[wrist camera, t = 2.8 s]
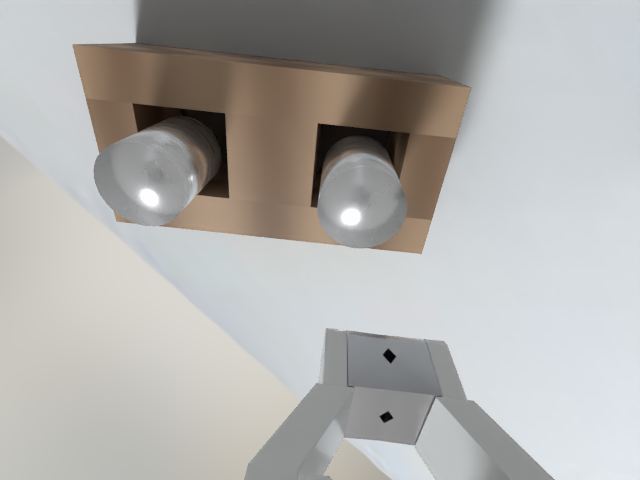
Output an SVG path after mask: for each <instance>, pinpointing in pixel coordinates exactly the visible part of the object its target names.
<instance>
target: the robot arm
mask: <svg viewBox="0 0 640 480" xmlns="http://www.w3.org/2000/svg"><path fill="white" fill-rule="evenodd" d="M344 438H356V439H369V440H380V441H387V442H394V443H401V444H408V445H415V449H416V450H417V452H418V453H419V455H420V457H421V458H422V460H423V461H424V463H425V464H426V466H427V467H428V469H429V470H430V472H431V474H432V475H433V477H434V478H435V480H554V479H553V478H552V477H551V476H550V475H549V474H548V473H547V472H546V471H545V470H544V469H543V468H542V467H541V466H540V465H539V464H538V463H537V462H536V461H535V460H534V459H533V458H532V457H531V456H530V455H529V454H528V453H527V452H526V451H525V450H524V449H523V448H522V447H520V446H519V445H518V444H517V443H516V442H515V441H514V440H513V439H512V438H511V437H510V436H509V435H508V434H507V433H506V432H505V431H504V430H503V429H502V428H501V427H500V426H499V425H498V424H497V423H496V422H495V421H494V420H493V419H492V418H491V417H490V416H489V415H488V414H487V413H486V412H485V411H484V410H483V409H482V408H481V407H480V406H479V405H478V404H476V403H475V402H474V401H471V400H467V398H466V395H465V392H464V390H463V387H462V384H461V381H460V379H459V376H458V373H457V370H456V368H455V365H454V362H453V359H452V357H451V354H450V351H449V348H448V346H447V344H446V343H445V342H444V341H437V340H427V339H424V340H423V339H416V338H406V337H396V336H387V335H377V334H369V333H362V332H355V331H347V330H346V331H344V330H337V329H330V328H326V330H325V337H324V344H323V350H322V357H321V365H320V374H319V383H316V385H315V386H314V387H313V388H312V389H311V390H310V392H309V393H308V394H307V395H306V396H305V398H304V399H303V400H302V401H301V402H300V404H299V405H298V406H297V407H296V408H295V409H294V411H293V412H292V413H291V414H290V415H289V417H288V418H287V419H286V420H285V421H284V422H283V424H282V425H281V426H280V427H279V428H278V430H277V431H276V432H275V433H274V434H273V436H272V437H271V438H270V439H269V440H268V441H267V443H266V444H265V445H264V446H263V447H262V449H261V450H260V451H259V452H258V453H257V455H256V456H255V457H254V458H253V459H252V461H251V462H250V463H249V464H248V467H247V471H246V475H245V480H332V479H331V478H330V477H329V476H323V474H324V472H325V470H326V469H327V467H328V465H329V464H330V462H331V460H332V458H333V457H334V455H335V453H336V452H337V450H338V448H339V446H340V444H341V443H342V441H343V439H344Z"/></svg>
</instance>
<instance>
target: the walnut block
mask: <svg viewBox="0 0 640 480" xmlns="http://www.w3.org/2000/svg"><path fill="white" fill-rule="evenodd" d="M73 49H74V53H75V57H76V61H77V65H78V69H79V73H80V77H81V81H82V85H83V89H84V93H85V97H86V101H87V105H88V109H89V113H90V117H91V121H92V125H93V129H94V133H95V137H96V141H97V145H98V149H99V153H100V152H101V151H102V150H103V149H105V148H106V147H108V146H109V145H112V144H114V143H116V142H118V141H120V140H122V139H125V138H127V137H129V136H131V135H133V134H135V133H138V132H140V131H142V130H144V129H146V128H148V127H151V126H153V125H155V124H157V123H159V122H161V121H164V120H166V119H168V118H170V117H174V116H181V109H190V110H199V111H209V112H218V113H225V121H226V141H227V160H228V164H222V163H221V165H220V168H219V170H218V172H217V173H216V175H215V176H214V177H213V178H212V179H211V180H210V181H209V182H208V183H207V184H206V185H205V187H204V188H203V189H202V190H201V191H200V192H199V193H198V194H197V195H196V196H195V197H194V198H193V200H192V201H191V202H190V203H189V204H188V205H187V206H186V207H185V208H184V209H183V210H182V212H181V213H180V214H179V215H178V216H177V217H176V218H175V219H174V220H172V221H171V222H169V223H167V224H164V225H160V226H164V227H173V228H183V229H192V230H202V231H211V232H220V233H230V234H239V235H249V236H258V237H268V238H277V239H286V240H296V241H305V242H315V243H324V244H334V245H342V244H339V243H338V242H336V241H334V240H333V239H332V238H330V237H329V236H328V235H327V234H326V232H325V231H324V230H323V228H322V226H321V224H320V222H319V218H318V213H317V206H318V198H319V191H320V183H321V176H322V174H316V172H317V161H318V150H319V139H320V128H321V124H329V125H339V126H348V127H357V128H367V129H376V130H385V131H391V133H390V138H389V143H388V148H387V153H388V155H389V157H390V159H391V162H392V164H393V167H394V169H395V171H396V174H397V176H398V179H399V181H400V183H401V186H402V188H403V190H404V193H405V196H406V199H407V213H406V217H405V220H404V222H403V224H402V226H401V228H400V229H399V230H398V232H397V233H396V234H395V235H394V236H393V237H392V238H390V239H389V240H387V241H386V242H384V243H382V244H380V245H377V246H374V247H369V248H371V249H381V250H390V251H400V252H409V253H418V254H422V251H423V247H424V244H425V241H426V237H427V234H428V231H429V227H430V224H431V221H432V217H433V214H434V211H435V207H436V204H437V201H438V197H439V194H440V191H441V187H442V184H443V181H444V177H445V174H446V171H447V167H448V164H449V161H450V157H451V154H452V150H453V147H454V144H455V140H456V137H457V134H458V130H459V127H460V124H461V120H462V117H463V114H464V110H465V107H466V104H467V100H468V97H469V94H470V90H471V87H468V86H465V85H462V84H460V83H457V82H454V81H452V80H449V79H446V78H444V77H441V76H433V75H423V74H414V73H405V72H396V71H387V70H377V69H368V68H359V67H350V66H340V65H331V64H322V63H313V62H303V61H294V60H285V59H276V58H267V57H257V56H248V55H239V54H230V53H220V52H211V51H202V50H193V49H184V48H174V47H165V46H156V45H147V44H137V43H124V44H76V45H73ZM114 213H115V217H116V221H117V222H126V223H134V222H131V221H129V220H127V219H125V218H123V217H122V216H120V215H119V214H117V213H116V212H115V211H114ZM343 246H344V245H343Z"/></svg>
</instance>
